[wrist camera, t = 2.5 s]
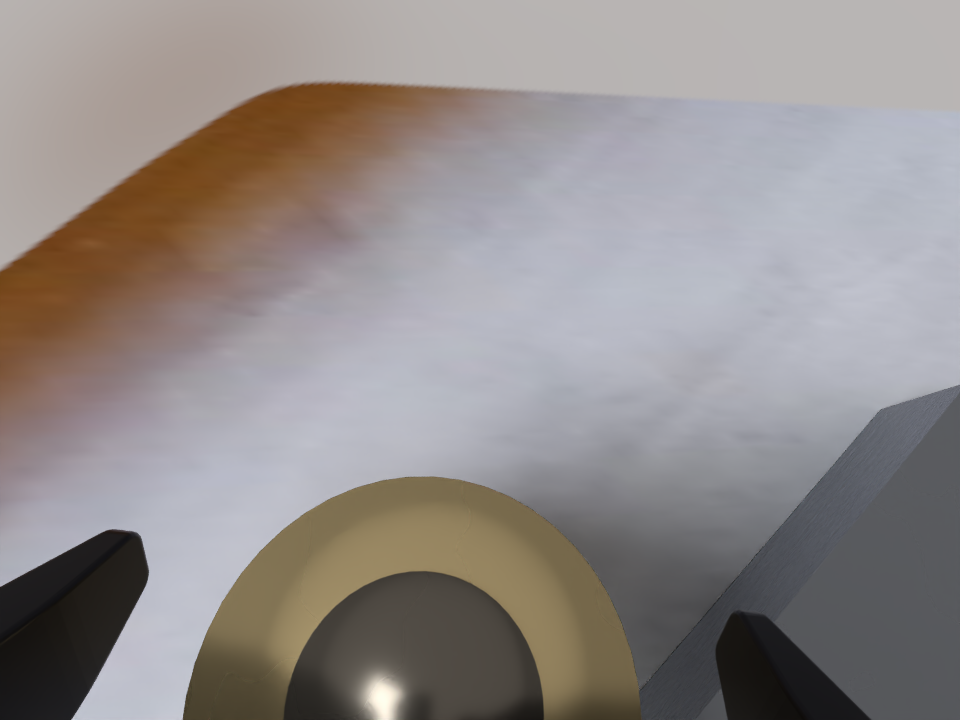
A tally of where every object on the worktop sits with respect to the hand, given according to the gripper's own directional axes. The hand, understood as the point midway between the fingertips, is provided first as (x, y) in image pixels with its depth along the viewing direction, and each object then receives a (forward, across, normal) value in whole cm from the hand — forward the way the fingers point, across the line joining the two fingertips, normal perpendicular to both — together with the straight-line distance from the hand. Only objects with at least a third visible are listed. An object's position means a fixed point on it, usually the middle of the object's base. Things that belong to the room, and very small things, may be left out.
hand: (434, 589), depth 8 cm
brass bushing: (+4, 0, +6) cm, 7 cm away
